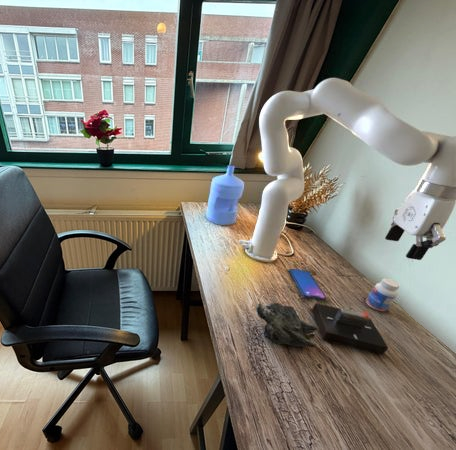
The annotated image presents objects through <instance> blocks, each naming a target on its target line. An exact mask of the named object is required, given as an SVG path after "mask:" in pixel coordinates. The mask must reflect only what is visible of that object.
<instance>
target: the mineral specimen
mask: <svg viewBox="0 0 456 450" xmlns="http://www.w3.org/2000/svg"><path fill="white" fill-rule="evenodd" d="M255 312H256V313H257V316H258V318H260V319H262V320H263V321H265V323H266V325H265V326H264V333H263V334H264V336H263V337H264V338H265V339H266V340H268V342H271V343H274V344H280V345H281V344H282V345H290V346H293V347H300V348H303V347H304V346H305V347H308V348H311V349H318V345H317V344H316V343H315V342H313V341H312V339H313V338H315V337H316V334H315V333H314V332H317V331H319V328H318V326H317V325H311V324H309V323H308V322H305V321H303V320H301V318H300V315H299V314H298V312H297V311H296V309H295V307H294V306H290V305H284V304H281V303H279V302H275V301H272V302H270V303H269V304H267V305H262V304H261V303H257V306H256V308H255Z"/></svg>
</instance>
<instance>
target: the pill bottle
mask: <svg viewBox="0 0 456 450" xmlns="http://www.w3.org/2000/svg"><path fill="white" fill-rule="evenodd" d="M400 287H401V285H400V284H399V283H398V281H395V280H394V279H392V278H387V277H385V278H382V280H381V281H380V282H377V283H376V284H375V285H374V286H373V288H372V289H371V291H370V292H369V294H368V296H367V297H366V299H365V303H366V304H367V305H368V306H369V307H370V308H372V309H374V310H376V311H379V312H386V311H387V310H388V309H389V307H390V306H391V305H392V303H393V302H394V300H395V299H396V298H397V296H398V294H399V292H398V290H399V288H400Z"/></svg>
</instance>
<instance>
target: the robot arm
mask: <svg viewBox="0 0 456 450" xmlns="http://www.w3.org/2000/svg"><path fill="white" fill-rule="evenodd" d="M320 115H326V116H327V117H329V118H330V119H332V120H333V121H334V122H336V123H338V124H339V125H341V126H342V127H344V128H345V129H347V130H349V131H350V132H351V133H352V134H353V135H354V136H356V137H357V138H358V139H360V140H361V141H362V142H364V143H365V144H366V145H368V146H369V147H371V149H373V150H374V151H377V152H378V153H379V154H381V155H382V156H384V157H385V158H387V159H389V160H390V161H391V162H393V163H395V164H397V165H400V166H408V167H409V166H411V167H412V166H417V165H420V164H423V163H426V164H428V167H427V168H426V170H425V172H424V174H423V175H422V177H421V179H420V180H419V182H418V184H417V186H416V187H415V188H414V189H413V190H412V191H410V193H409V194H408V195H407V196H406V197H405V199H404V200H403V202H402V203H401V205H400V206H399V207H398V208H396V209H395V210H394V215H393V217H392V222H391V224H390V226H391V227H390V228H389V230H388V231H387V234H386V235H385V236H384V239H385V240H386V241H392V242H399V241H400V240H401V237H402V236H403V235H404V233H405V232H406V233H408V234H409V235H411V236H415V243H413V244H412V246H411V247H410V248H409V250H408V251H407V253H406V254H405V257H406V258H407V259H411V260H417V261H421V260H422V259H423V258H424V257H425V255H426V253H427V252H428V251H429V249H432V248H434V247H437V246H439V244H441V243H443V242H444V241H446V239H447V238H446V235H445V234H444V232H443V229H444V227H445V226H446V224H447V222H448V221H449V219H450V217H451V215H452V213H453V210H454V208H455V206H456V135H454V136H451V135H446V134H445V135H444V134H440V133H435V132H431V131H424V130H423V131H422V130H420V129H418V128H416V127H415V126H413V125H411V124H410V123H408V122H406V121H404V120H403V119H401V118H399V117H398V116H397V115H395V114H393V113H392V112H391V111H389V109H388V108H387V107H386V105H385V104H384V103H383V102H381V101H380V100H378V99H376V98H375V97H373V96H371V95H370V94H367V93H365V92H363V91H362V90H360V89H359V88H357V87H356V86H353V84H352V83H351V82H349V81H348V80H345V79H341V78H338V77H329V78H326V79H323V80H322V81H320V82H319V83H318V84H317V85H316V86H315V87H314V88H313V89H309V90H304V91H295V90H294V91H293V90H282V91H280V92H279V91H278V92H277V93H274V94H273V95H272V96H271V97H270V98H268V100H267V101H265V103H264V104H263V106H262V109H261V110H260V113H259V118H258V127H259V133H260V142H261V153H262V162H263V170H264V171H265V173H266V174H267V175H268V176H270V177H276V178H277V179H276V180H273V181H270V182H269V183H268V184H267V185H266V186H265V187H264V189H263V191H262V194H261V203H260V209H259V213H258V216H257V221H256V224H255V226H254V231H253V233H252V236H251V237H252V238H249V240H245V239H239V240H238V244H239V245H241V247H242V248H244V251H245V253H246V254H247V255H248V257H250V258H251V259H253V260H255V261H259V262H263V263H272V262H275V261H276V260H277V259H278V253H277V252H276V249H277V246H278V244H279V240H280V238H281V234H282V232H283V229H284V226H285V222H286V219H287V217H288V212H289V211H288V210H289V205H290V203H292V202H294V201H296V200H298V199H299V198H301V196H303V194H304V191H305V175H304V173H305V172H304V163H303V162H304V161H303V157H302V154H301V152H300V151H299V150H298V149H296V148H294V147H291V146H290V143H289V133H288V130H287V126H286V121H289V120H292V121H295V120H302V119H306V118H310V117H316V116H320ZM424 239H426V240H424Z"/></svg>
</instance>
